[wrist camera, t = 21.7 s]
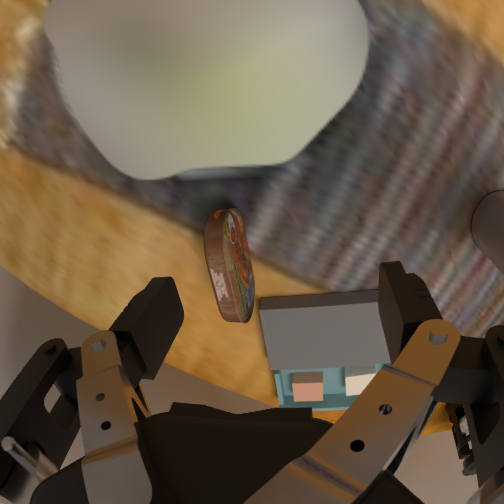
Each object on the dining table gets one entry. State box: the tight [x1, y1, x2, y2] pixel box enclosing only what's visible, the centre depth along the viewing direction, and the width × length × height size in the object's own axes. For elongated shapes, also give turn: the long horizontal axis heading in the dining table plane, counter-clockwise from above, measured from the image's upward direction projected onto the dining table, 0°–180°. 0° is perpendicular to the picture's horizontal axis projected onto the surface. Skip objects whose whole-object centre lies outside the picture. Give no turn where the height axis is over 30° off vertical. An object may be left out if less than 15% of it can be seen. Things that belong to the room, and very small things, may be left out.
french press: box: [445, 403, 477, 476], centre depth 41 cm, size 12×9×23 cm
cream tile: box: [345, 364, 376, 396], centre depth 49 cm, size 5×5×2 cm
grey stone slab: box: [259, 290, 391, 370], centre depth 46 cm, size 20×12×3 cm, turn 99°
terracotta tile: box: [292, 371, 323, 402], centre depth 51 cm, size 5×5×2 cm
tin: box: [204, 208, 255, 323], centre depth 40 cm, size 15×3×8 cm, turn 9°
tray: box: [274, 363, 392, 411], centre depth 50 cm, size 19×10×4 cm, turn 99°
